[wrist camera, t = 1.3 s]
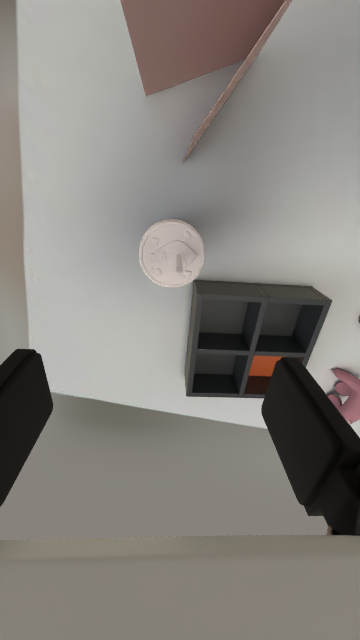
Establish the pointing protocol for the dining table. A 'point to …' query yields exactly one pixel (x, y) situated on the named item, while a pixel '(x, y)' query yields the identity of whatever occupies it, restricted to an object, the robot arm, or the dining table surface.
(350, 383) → the video game controller
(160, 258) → the smoothie
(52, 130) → the dining table surface
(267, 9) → the greeting card
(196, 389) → the crate
